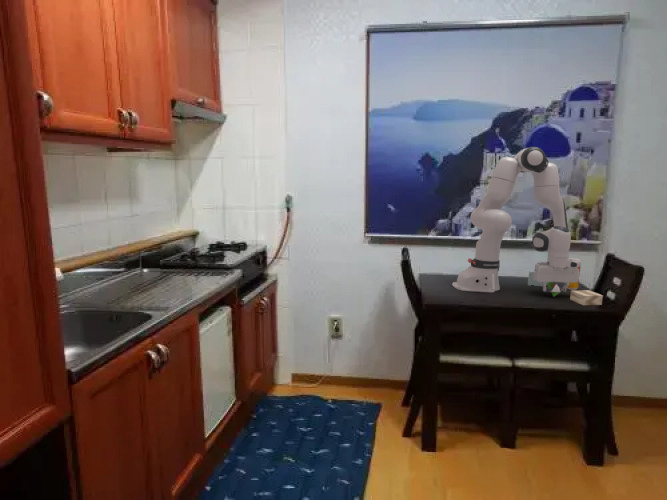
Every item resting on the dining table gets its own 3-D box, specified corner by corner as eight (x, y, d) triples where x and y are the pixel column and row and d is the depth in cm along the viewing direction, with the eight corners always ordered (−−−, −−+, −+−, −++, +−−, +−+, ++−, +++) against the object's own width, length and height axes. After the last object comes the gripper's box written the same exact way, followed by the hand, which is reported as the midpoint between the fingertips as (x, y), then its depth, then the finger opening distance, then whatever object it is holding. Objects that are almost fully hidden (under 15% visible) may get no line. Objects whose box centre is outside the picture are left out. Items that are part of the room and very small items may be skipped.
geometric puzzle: (539, 290, 226) (545, 281, 219) (549, 284, 228) (555, 274, 221) (550, 301, 222) (557, 292, 216) (561, 295, 224) (567, 285, 218)
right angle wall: (547, 282, 252) (548, 268, 251) (553, 287, 240) (554, 273, 239) (523, 280, 254) (524, 267, 253) (528, 286, 243) (529, 271, 241)
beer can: (579, 290, 234) (583, 260, 232) (566, 289, 236) (569, 259, 233) (575, 287, 240) (579, 258, 238) (562, 286, 241) (566, 257, 239)
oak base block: (583, 305, 209) (584, 295, 208) (569, 300, 218) (571, 290, 217) (601, 305, 210) (602, 295, 209) (587, 299, 219) (588, 290, 218)
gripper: (538, 263, 217) (535, 292, 219) (582, 263, 218) (579, 293, 220) (532, 260, 223) (529, 289, 225) (575, 261, 224) (571, 289, 226)
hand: (554, 291), depth 223 cm, fingers open, 7 cm apart
